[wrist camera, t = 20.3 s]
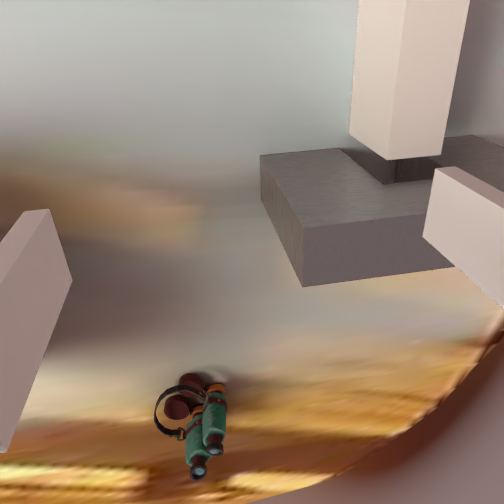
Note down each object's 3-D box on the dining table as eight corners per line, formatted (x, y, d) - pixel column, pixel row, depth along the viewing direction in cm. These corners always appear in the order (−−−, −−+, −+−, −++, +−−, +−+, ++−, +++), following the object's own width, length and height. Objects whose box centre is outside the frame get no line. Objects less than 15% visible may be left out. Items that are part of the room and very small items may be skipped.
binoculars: (164, 424, 46) (241, 448, 49) (173, 360, 56) (237, 383, 59) (133, 471, 50) (207, 491, 53) (146, 403, 59) (208, 424, 62)
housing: (462, 177, 48) (587, 248, 34) (261, 199, 45) (302, 287, 31) (472, 135, 46) (612, 191, 31) (259, 155, 43) (303, 227, 28)
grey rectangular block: (393, 130, 44) (440, 154, 36) (349, 134, 43) (386, 160, 36) (431, -167, 32) (512, -224, 24) (370, -167, 32) (434, -226, 24)
